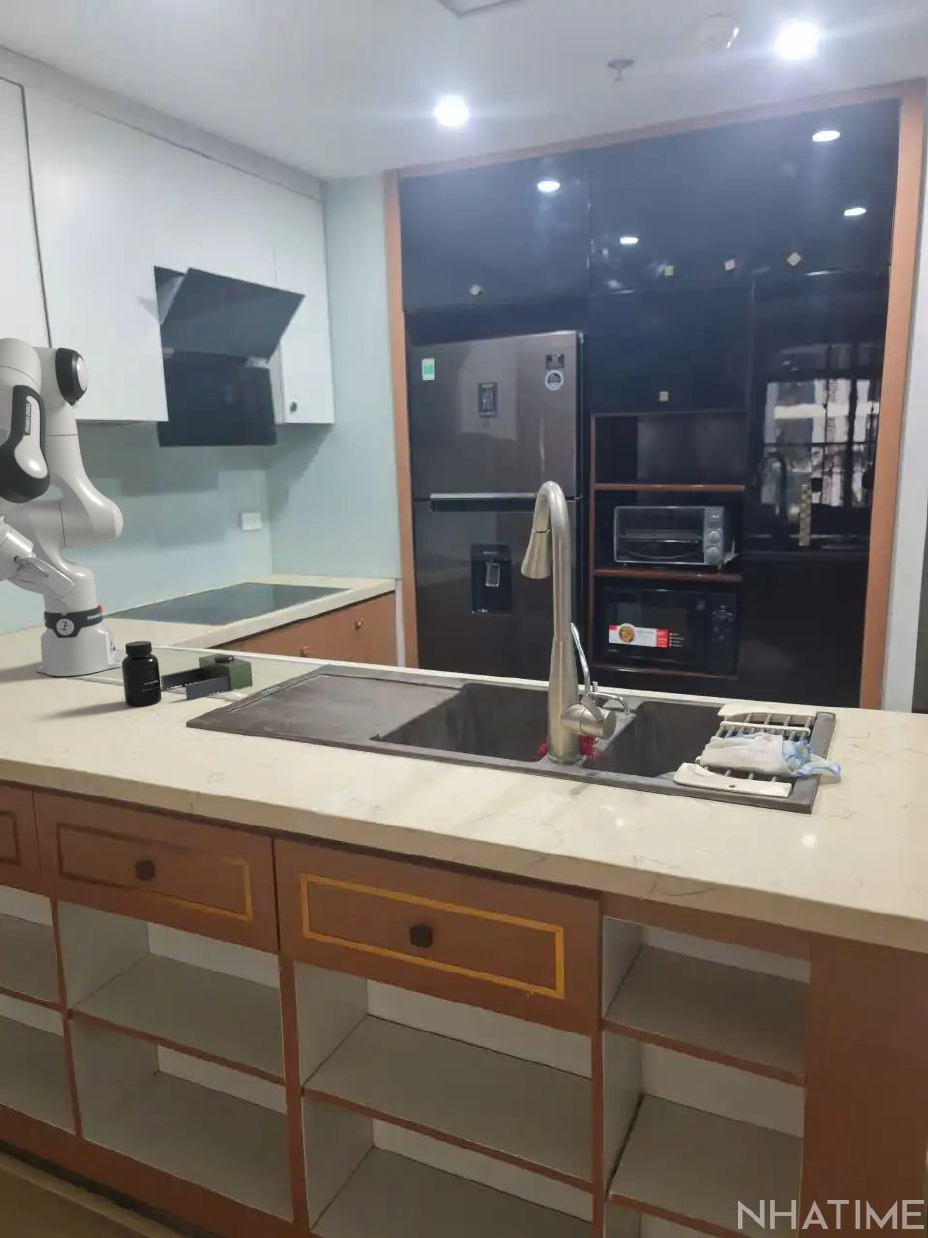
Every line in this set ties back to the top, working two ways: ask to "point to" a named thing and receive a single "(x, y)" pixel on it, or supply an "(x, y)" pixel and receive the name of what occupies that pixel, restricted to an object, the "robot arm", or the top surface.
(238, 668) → the chute bracket
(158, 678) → the supplement bottle
